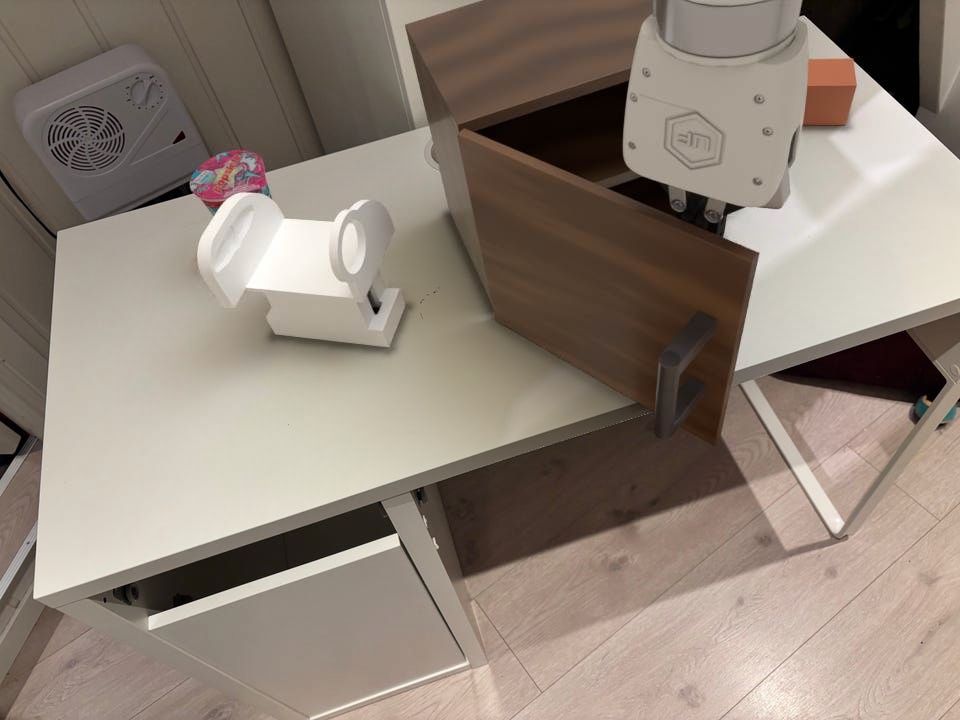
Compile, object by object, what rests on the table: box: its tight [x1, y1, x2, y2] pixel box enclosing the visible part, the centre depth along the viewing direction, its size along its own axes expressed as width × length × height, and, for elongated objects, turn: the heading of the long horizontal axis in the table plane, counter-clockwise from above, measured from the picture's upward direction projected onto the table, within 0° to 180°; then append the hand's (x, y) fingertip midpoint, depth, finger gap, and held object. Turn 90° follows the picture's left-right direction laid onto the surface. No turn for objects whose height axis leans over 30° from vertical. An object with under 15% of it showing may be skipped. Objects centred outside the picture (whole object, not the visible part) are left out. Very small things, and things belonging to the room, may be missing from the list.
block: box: [802, 57, 858, 126], centre depth 90 cm, size 6×6×6 cm
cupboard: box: [404, 0, 677, 305], centre depth 77 cm, size 18×26×24 cm
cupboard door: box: [457, 128, 760, 447], centre depth 63 cm, size 7×26×24 cm, turn 49°
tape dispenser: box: [196, 192, 406, 348], centre depth 76 cm, size 14×13×18 cm
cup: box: [189, 149, 274, 217], centre depth 88 cm, size 9×8×12 cm
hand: (697, 245), depth 55 cm, fingers closed
